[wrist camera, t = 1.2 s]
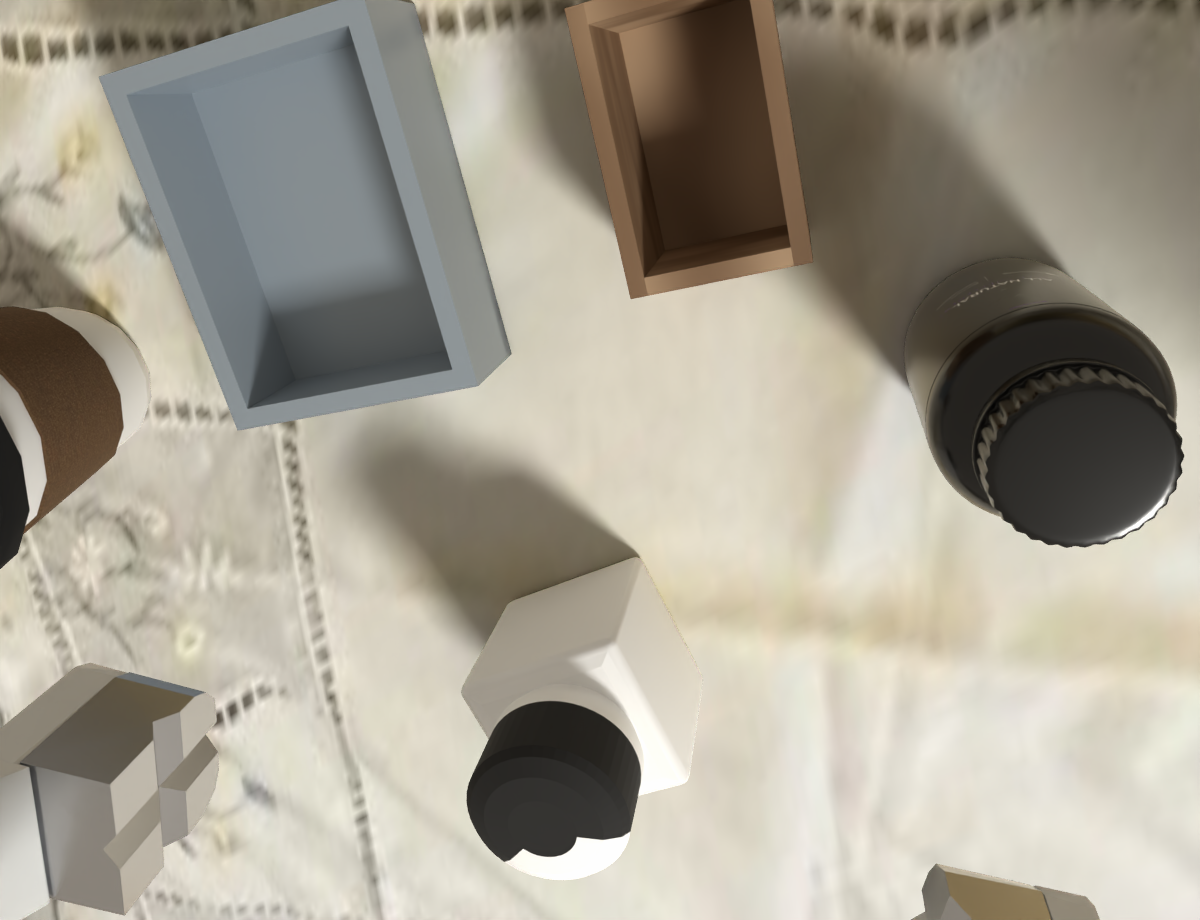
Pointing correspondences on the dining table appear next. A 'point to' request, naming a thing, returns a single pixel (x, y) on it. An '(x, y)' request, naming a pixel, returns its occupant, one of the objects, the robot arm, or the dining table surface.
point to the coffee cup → (60, 408)
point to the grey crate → (315, 211)
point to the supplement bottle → (1043, 403)
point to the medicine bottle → (579, 720)
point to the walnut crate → (692, 138)
